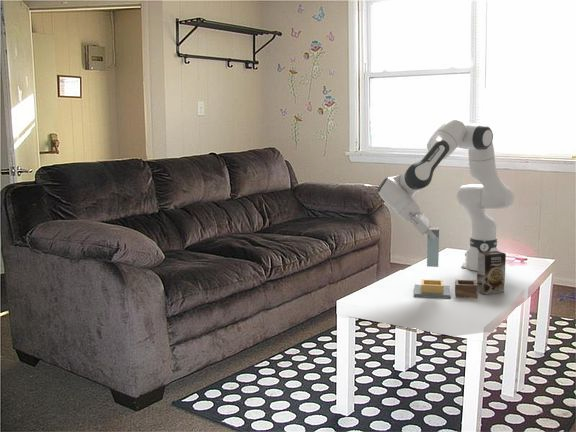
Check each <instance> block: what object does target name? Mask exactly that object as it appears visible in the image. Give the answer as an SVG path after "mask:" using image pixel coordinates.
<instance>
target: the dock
mask: <svg viewBox="0 0 576 432" xmlns="http://www.w3.org/2000/svg"><path fill="white" fill-rule="evenodd" d="M414 296H419V297H418V298H433V297H434V298H436V299H438V298H439V299H451V287H450V285H444V280H443V279H421V284H414V291H413V297H414Z"/></svg>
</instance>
